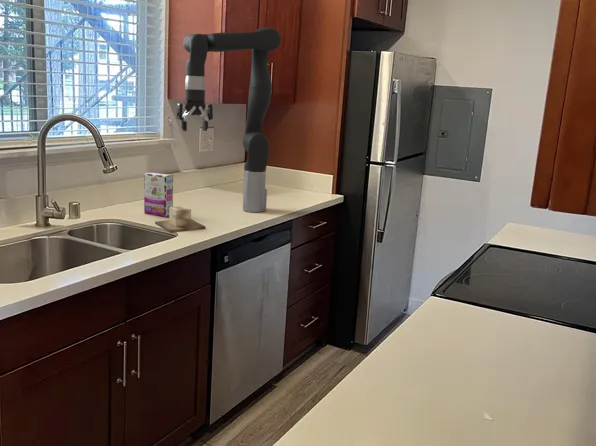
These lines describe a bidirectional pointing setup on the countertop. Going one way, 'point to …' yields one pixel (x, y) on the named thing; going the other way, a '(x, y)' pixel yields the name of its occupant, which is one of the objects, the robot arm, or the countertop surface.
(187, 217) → the maple cube
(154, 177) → the candy bar box
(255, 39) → the robot arm
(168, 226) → the walnut board
